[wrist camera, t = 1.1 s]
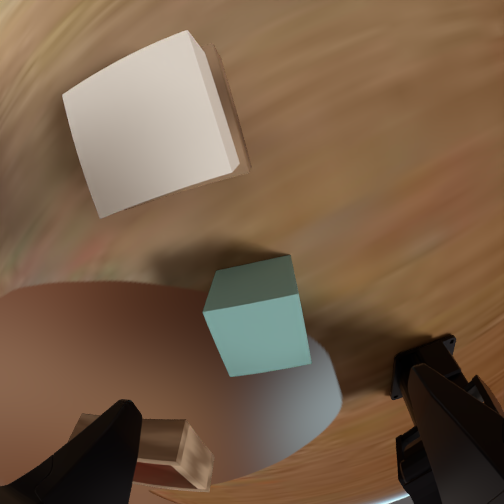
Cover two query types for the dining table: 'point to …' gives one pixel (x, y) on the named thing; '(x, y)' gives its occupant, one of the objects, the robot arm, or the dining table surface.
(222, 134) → the cream block
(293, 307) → the teal cube
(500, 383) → the dining table surface
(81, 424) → the bracket cradle
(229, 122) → the walnut block
